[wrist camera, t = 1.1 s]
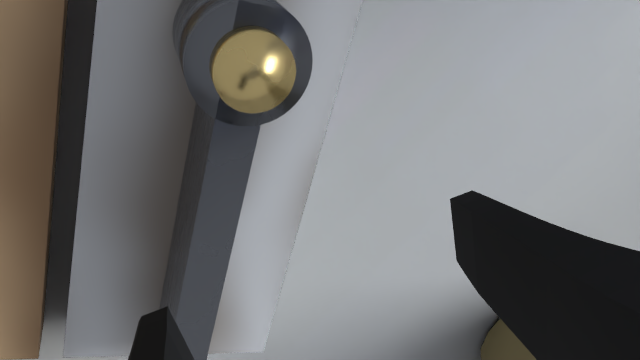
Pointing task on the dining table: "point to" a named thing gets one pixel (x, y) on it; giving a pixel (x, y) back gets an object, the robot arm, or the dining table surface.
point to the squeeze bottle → (503, 345)
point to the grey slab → (142, 174)
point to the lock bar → (224, 139)
